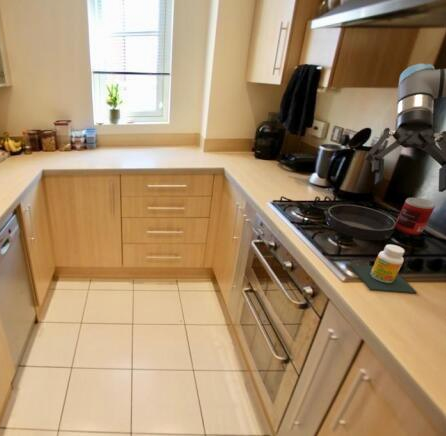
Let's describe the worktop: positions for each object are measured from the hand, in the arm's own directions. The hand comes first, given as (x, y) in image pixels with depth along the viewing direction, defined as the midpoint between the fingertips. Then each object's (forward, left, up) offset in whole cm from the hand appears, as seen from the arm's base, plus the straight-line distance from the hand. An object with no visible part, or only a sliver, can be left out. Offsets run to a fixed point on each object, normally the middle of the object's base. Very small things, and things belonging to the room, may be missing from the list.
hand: (410, 186), depth 82 cm
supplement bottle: (+2, +6, -25) cm, 26 cm away
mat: (+2, +7, -26) cm, 26 cm away
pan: (-7, -25, -26) cm, 37 cm away
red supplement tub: (-23, -24, -26) cm, 42 cm away
